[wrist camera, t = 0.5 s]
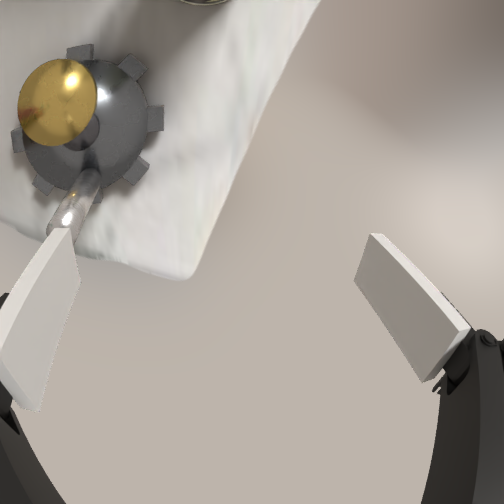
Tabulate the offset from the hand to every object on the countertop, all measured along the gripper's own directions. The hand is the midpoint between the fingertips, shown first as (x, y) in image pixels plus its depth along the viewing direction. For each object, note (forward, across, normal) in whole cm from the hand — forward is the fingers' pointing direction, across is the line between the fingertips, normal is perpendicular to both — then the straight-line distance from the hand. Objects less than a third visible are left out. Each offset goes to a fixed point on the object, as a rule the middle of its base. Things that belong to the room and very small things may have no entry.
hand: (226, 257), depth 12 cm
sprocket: (+25, -15, +3) cm, 30 cm away
